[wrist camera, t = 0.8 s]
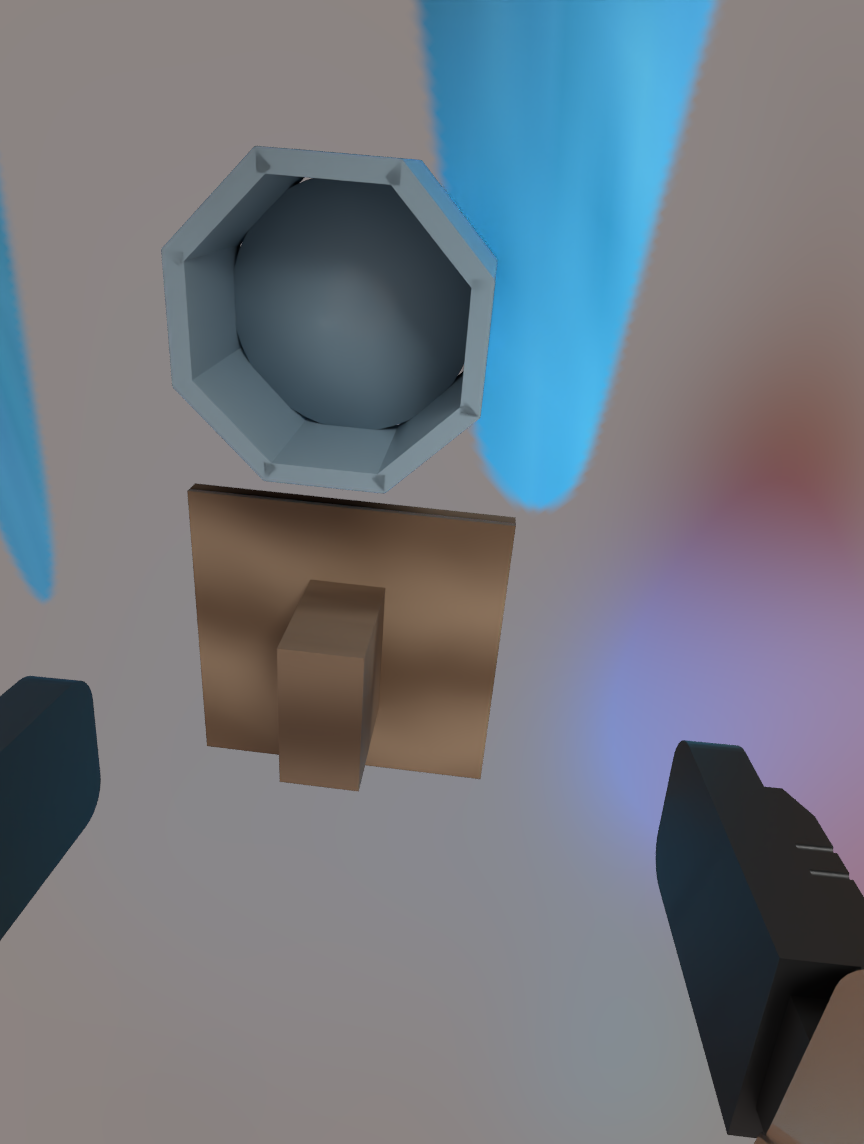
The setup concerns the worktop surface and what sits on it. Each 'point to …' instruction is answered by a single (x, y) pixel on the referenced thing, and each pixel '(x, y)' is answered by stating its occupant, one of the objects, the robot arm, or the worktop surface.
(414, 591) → the lid
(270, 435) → the bowl
